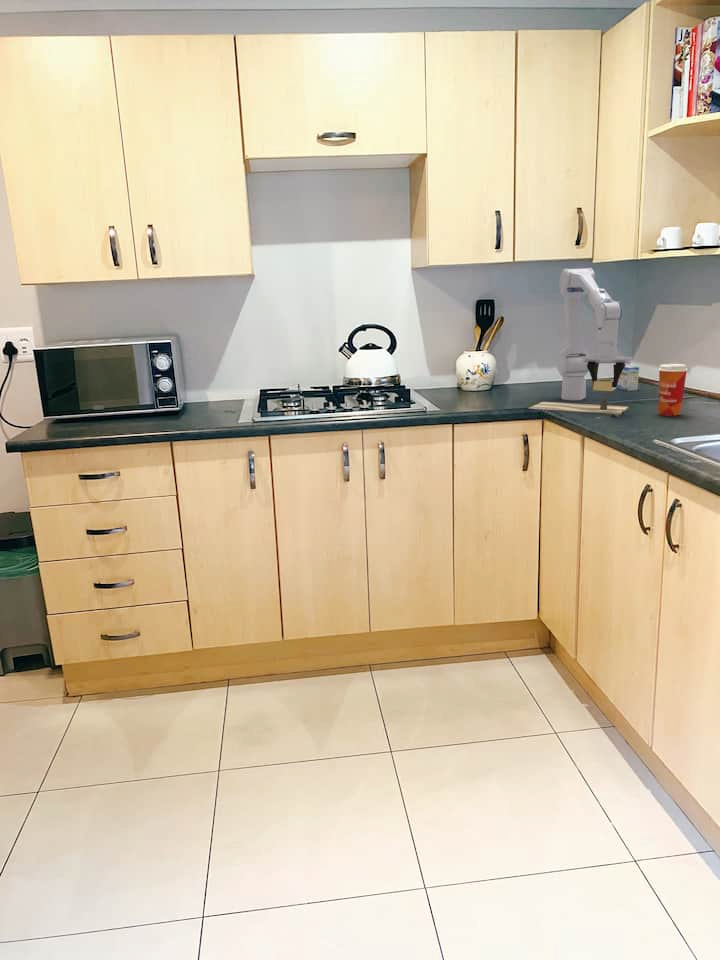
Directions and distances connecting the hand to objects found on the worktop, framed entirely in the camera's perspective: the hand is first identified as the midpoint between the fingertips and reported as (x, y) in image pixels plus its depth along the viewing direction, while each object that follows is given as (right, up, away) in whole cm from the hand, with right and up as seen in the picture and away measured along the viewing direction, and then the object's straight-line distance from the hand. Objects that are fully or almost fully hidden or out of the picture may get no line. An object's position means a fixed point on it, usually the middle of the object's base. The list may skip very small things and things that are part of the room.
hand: (604, 386), depth 225 cm
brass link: (0, -1, 0) cm, 1 cm away
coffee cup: (+18, -9, -5) cm, 21 cm away
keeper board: (-6, -7, +6) cm, 11 cm away
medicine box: (+24, +5, +46) cm, 52 cm away
